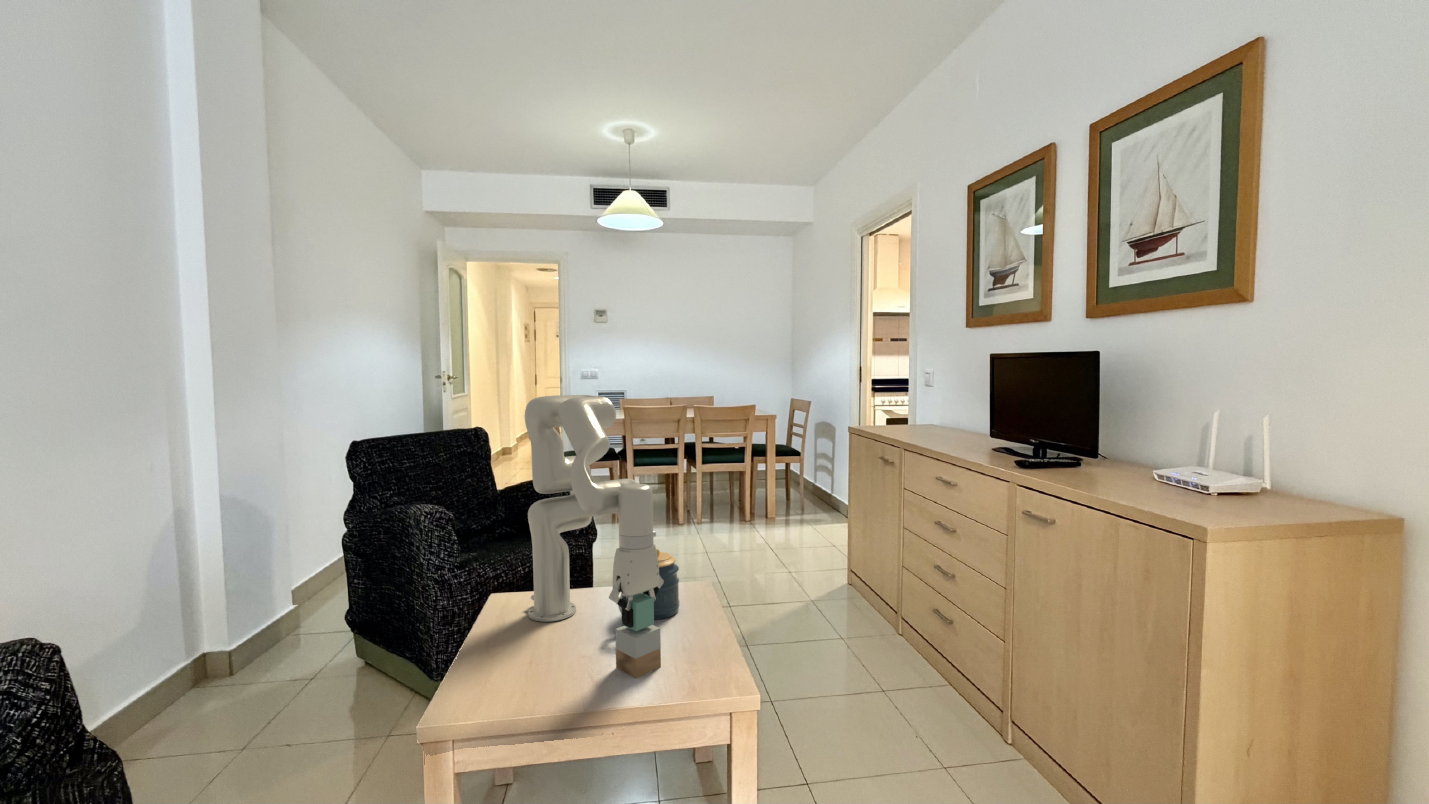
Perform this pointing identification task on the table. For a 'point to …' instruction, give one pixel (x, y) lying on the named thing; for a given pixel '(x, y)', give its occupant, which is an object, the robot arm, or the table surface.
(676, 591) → the canister
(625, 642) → the top block
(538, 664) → the table surface
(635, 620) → the stack block
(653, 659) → the base block
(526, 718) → the table surface
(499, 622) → the table surface
